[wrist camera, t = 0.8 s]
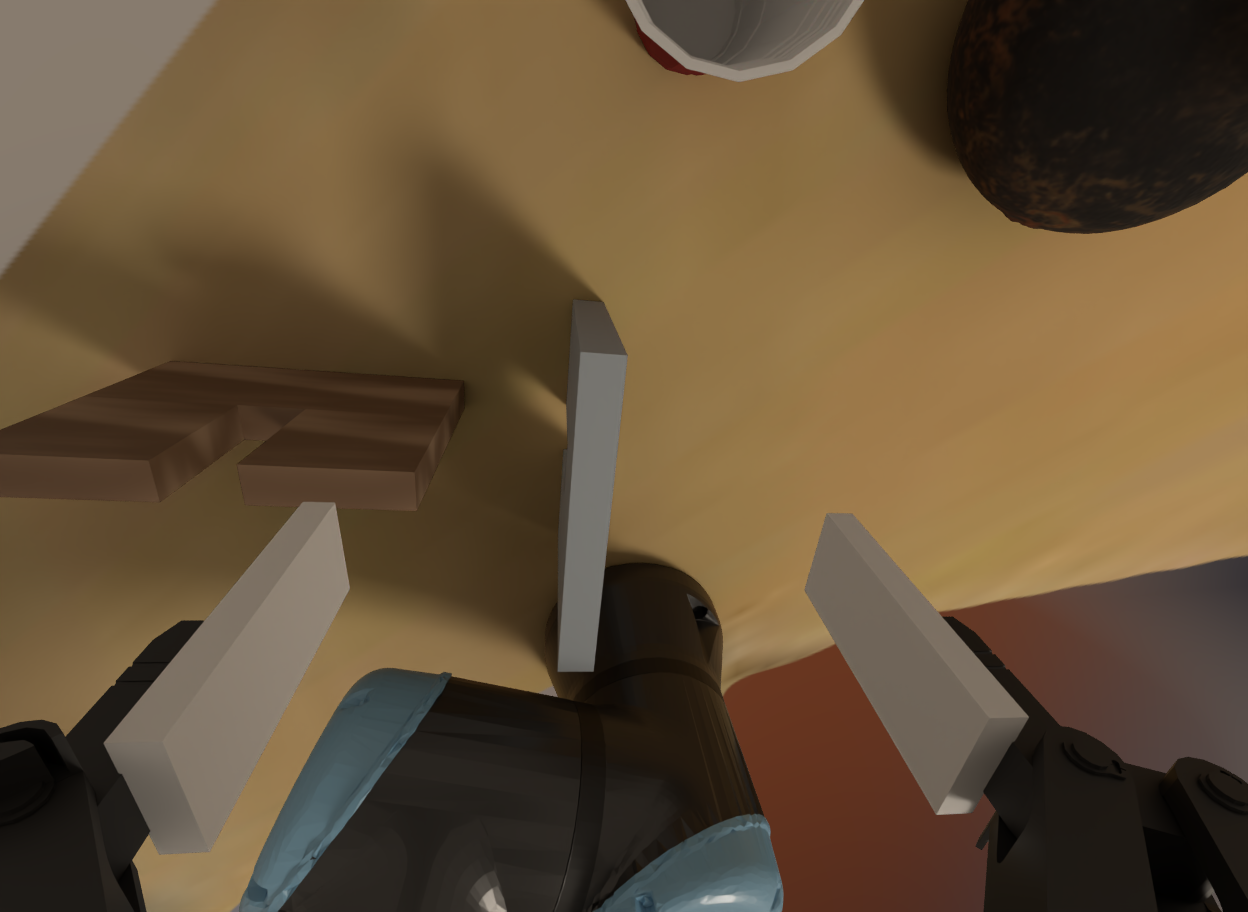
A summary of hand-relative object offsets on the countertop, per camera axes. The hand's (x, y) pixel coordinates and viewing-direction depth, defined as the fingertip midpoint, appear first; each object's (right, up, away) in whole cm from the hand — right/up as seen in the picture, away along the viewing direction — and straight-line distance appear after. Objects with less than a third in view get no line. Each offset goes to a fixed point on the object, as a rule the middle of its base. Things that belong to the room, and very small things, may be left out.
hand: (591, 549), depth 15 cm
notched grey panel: (-2, +5, +24) cm, 25 cm away
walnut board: (-19, +7, +21) cm, 29 cm away
